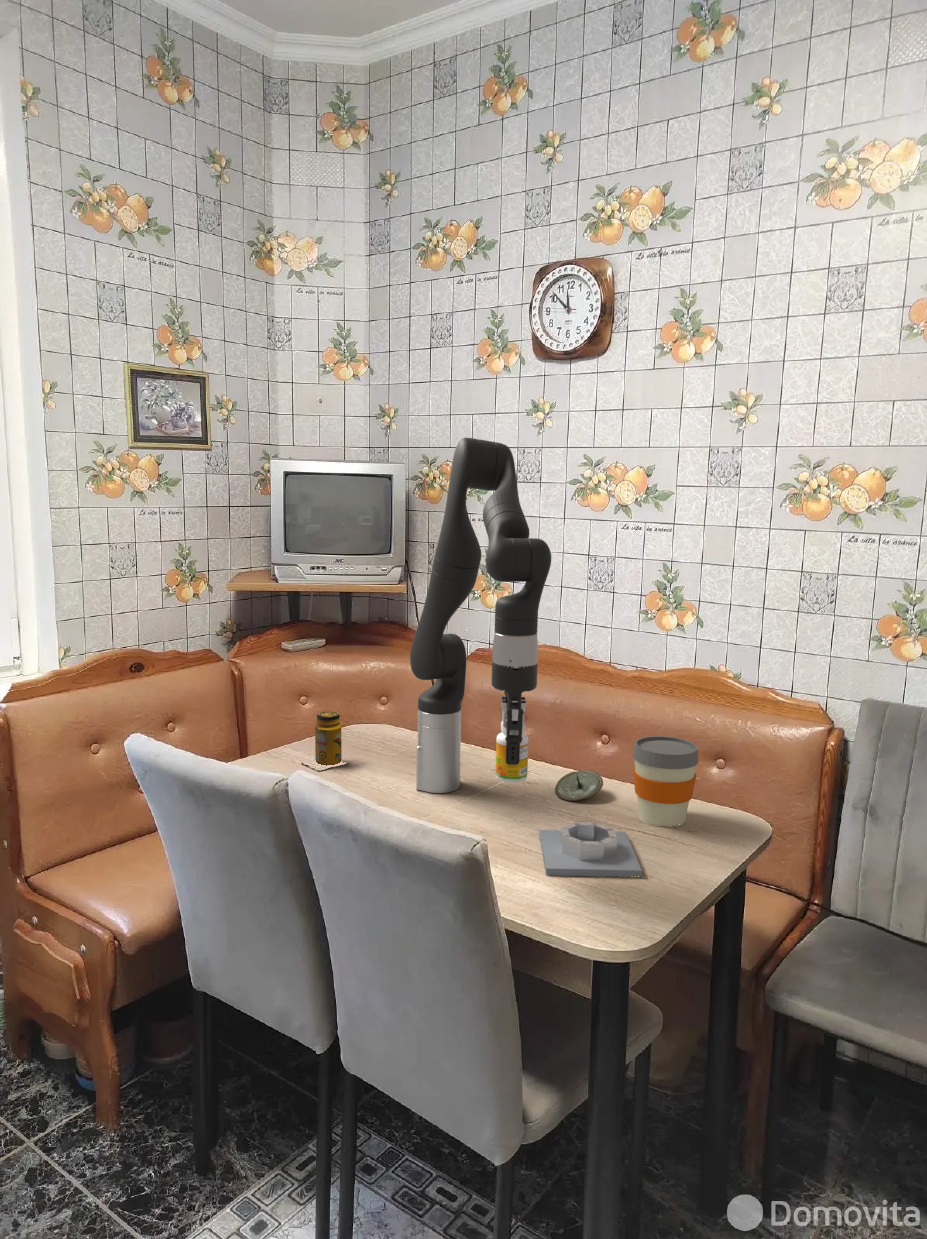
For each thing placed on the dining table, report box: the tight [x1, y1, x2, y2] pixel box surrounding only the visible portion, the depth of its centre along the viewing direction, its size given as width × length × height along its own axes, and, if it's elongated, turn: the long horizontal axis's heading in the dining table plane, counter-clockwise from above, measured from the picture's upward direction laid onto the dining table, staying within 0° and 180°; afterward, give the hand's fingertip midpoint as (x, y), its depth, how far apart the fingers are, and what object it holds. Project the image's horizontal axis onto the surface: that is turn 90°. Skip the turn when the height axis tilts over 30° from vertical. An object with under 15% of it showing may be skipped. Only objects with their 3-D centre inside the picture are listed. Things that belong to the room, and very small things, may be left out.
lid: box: [554, 770, 604, 802], centre depth 178 cm, size 11×10×5 cm
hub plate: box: [538, 829, 643, 878], centre depth 149 cm, size 16×16×1 cm
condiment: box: [314, 710, 343, 766], centre depth 194 cm, size 7×8×12 cm
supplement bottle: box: [494, 719, 529, 784], centre depth 141 cm, size 5×5×10 cm
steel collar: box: [560, 821, 617, 861], centre depth 148 cm, size 10×10×3 cm
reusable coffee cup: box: [632, 735, 699, 827], centre depth 165 cm, size 13×13×15 cm
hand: (511, 757), depth 141 cm, fingers closed on supplement bottle, 5 cm apart
